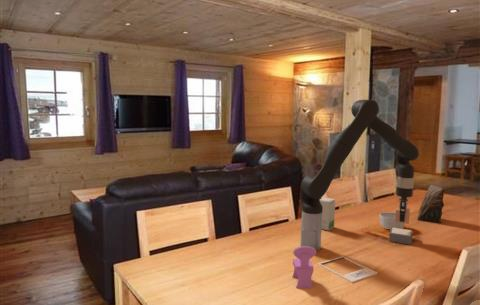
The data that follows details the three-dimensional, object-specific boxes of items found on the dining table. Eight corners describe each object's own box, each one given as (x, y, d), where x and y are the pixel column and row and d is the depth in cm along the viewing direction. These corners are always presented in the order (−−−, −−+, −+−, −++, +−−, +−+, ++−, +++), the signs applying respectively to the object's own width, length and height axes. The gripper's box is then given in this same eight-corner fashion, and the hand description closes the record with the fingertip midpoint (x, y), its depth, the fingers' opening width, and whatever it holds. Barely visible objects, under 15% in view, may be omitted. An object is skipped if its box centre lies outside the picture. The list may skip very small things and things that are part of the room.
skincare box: (328, 231, 192) (329, 202, 189) (316, 228, 195) (317, 199, 193) (334, 227, 198) (336, 198, 196) (323, 224, 202) (324, 196, 200)
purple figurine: (310, 276, 141) (312, 239, 139) (316, 288, 132) (318, 248, 130) (289, 276, 140) (290, 239, 138) (293, 288, 132) (294, 248, 130)
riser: (411, 244, 174) (412, 236, 174) (389, 241, 179) (389, 232, 178) (411, 238, 183) (412, 230, 183) (390, 234, 188) (391, 226, 187)
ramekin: (400, 224, 204) (401, 212, 203) (408, 232, 191) (409, 220, 190) (376, 223, 205) (376, 211, 205) (382, 231, 192) (383, 218, 192)
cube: (408, 224, 176) (409, 211, 175) (395, 222, 178) (396, 210, 178) (409, 220, 181) (409, 208, 180) (395, 218, 184) (396, 207, 183)
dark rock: (424, 215, 222) (427, 183, 219) (447, 220, 213) (450, 186, 210) (416, 219, 213) (419, 186, 211) (439, 225, 204) (443, 190, 202)
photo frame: (352, 281, 136) (317, 262, 151) (351, 284, 136) (317, 265, 151) (377, 272, 144) (342, 255, 159) (377, 274, 144) (342, 258, 159)
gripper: (413, 190, 169) (410, 225, 172) (413, 184, 182) (410, 216, 184) (395, 188, 173) (393, 222, 175) (397, 182, 185) (394, 214, 188)
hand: (402, 219), depth 180 cm, fingers closed on cube, 6 cm apart
